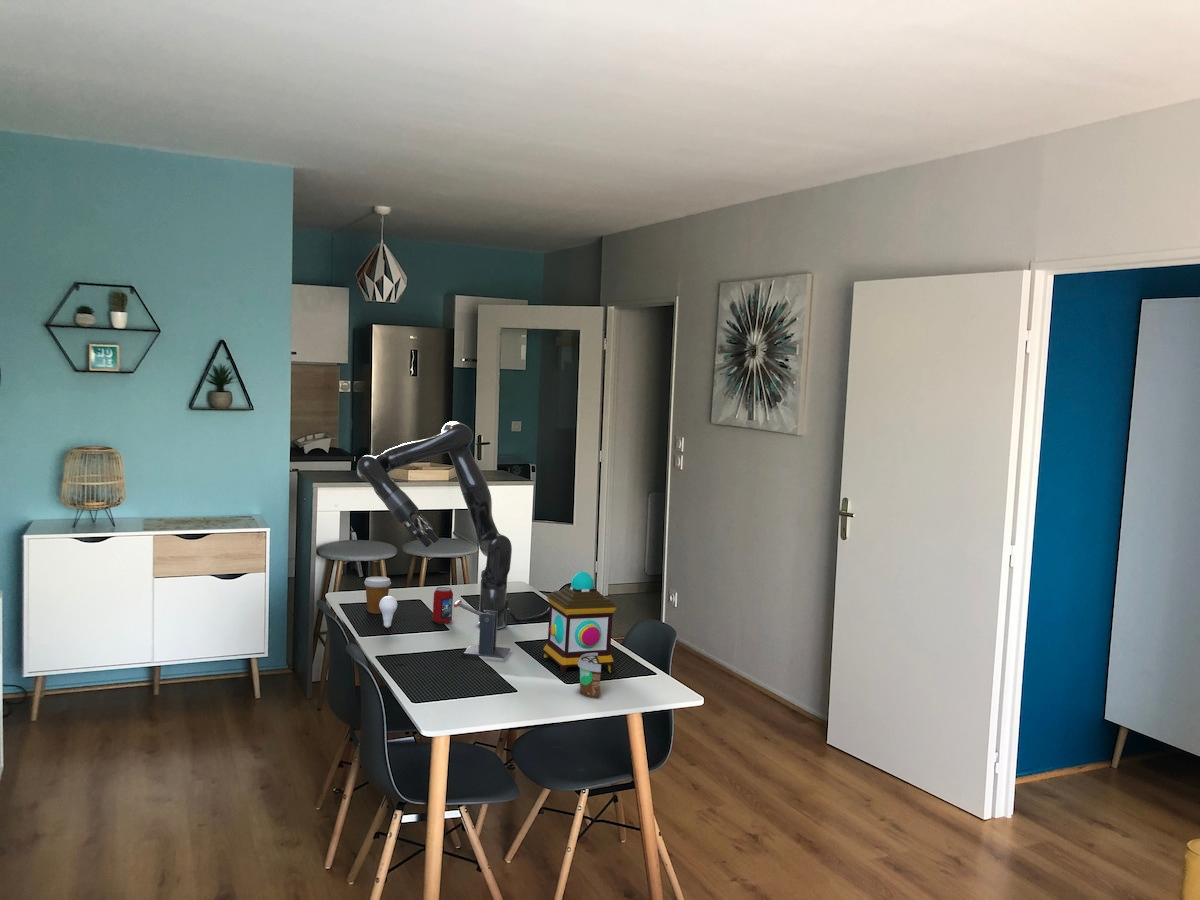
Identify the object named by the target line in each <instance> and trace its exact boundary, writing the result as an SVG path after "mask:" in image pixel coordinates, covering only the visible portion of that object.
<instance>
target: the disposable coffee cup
mask: <svg viewBox="0 0 1200 900" xmlns="http://www.w3.org/2000/svg"><path fill="white" fill-rule="evenodd" d="M363 583H364V585H365V597H366V598H365V599H366V610H367V613H370V614H382V612H381V610H380V608H379V603H380V601H381V599H382V598H383V597H385V596H389V591H390V586H391V584H392V582H391V579H390V578H389V577H386V576H368V577H366V578H365V580H364V582H363Z"/></svg>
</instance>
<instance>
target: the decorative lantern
mask: <svg viewBox="0 0 1200 900" xmlns="http://www.w3.org/2000/svg"><path fill="white" fill-rule="evenodd" d="M594 584H595V583H594V579H593V577H592V576H591V574H589V573H588V572H587V571H584V570H583V571H578V572H577V573H576V574H575V575H574V576H573V577H572V578H571V583H570V584H567V586H565V587H564V588H562V589H560V590H554V591H553V592H551V593H549V594H548V595H546V599H547V601H548V604H549V607H550V611H549V612H548V632H547V642H546V643H545V646H544V647H543V650H542V658H544V659H548V658H550V659H551V660H552V661H554V662H555V664H557V665H558V666H559V669H560V673H561V674H566V672H567V669H568V668H576V667H577V668H578V667H579V666H578V661H579V658H580V656H581V655H583V654H587V653H598V660H599V664H601V666H605V665H606V666H607V671H608V673H611V674H612V673H613V672H614V669H615V661H614V658H613V656H612V654H611V647H612V633H613V632H612V631H613V617H614V613H615V612H616V610H617V605H615V602H613V601H612V600H611V599H610V598H608V597H607V596H605V595H603V594H602V593H600V591H598V588H597V587H594V586H595V585H594Z"/></svg>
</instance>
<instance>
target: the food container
mask: <svg viewBox="0 0 1200 900" xmlns="http://www.w3.org/2000/svg"><path fill="white" fill-rule="evenodd" d="M577 667H578V668H579V694H581V695H582V696H584V697H587V698H592V699H600V698H599V697H600V686H601V685H600V684H601V674H602V673H601V672H602V665H601V664H599V660H598V653H587V654H583V655H581V656H580V658H579V661H578V666H577Z"/></svg>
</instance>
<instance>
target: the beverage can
mask: <svg viewBox="0 0 1200 900" xmlns="http://www.w3.org/2000/svg"><path fill="white" fill-rule="evenodd" d="M432 602H433V603H432V621H433V622H434V623H435V624H449V623H450V622H451V621H452V620H453V606H454V603H453V602H454V592H453V590H452V588H451V587H447V586H438V587H436V588H435V590H434V592H433V601H432Z"/></svg>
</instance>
